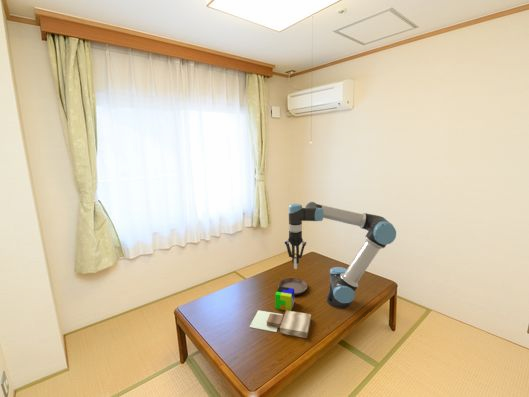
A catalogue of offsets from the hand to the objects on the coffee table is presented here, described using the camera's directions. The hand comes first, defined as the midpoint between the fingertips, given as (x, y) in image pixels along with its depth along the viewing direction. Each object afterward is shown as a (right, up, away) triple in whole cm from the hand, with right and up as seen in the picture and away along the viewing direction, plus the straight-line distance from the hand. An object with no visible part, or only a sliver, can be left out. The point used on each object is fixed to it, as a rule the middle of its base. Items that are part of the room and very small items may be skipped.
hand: (295, 268), depth 159 cm
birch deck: (-1, -31, -7) cm, 32 cm away
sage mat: (-17, -31, -2) cm, 35 cm away
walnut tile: (-12, -31, -4) cm, 33 cm away
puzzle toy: (-5, -28, +13) cm, 31 cm away
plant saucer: (+2, -24, +32) cm, 40 cm away
